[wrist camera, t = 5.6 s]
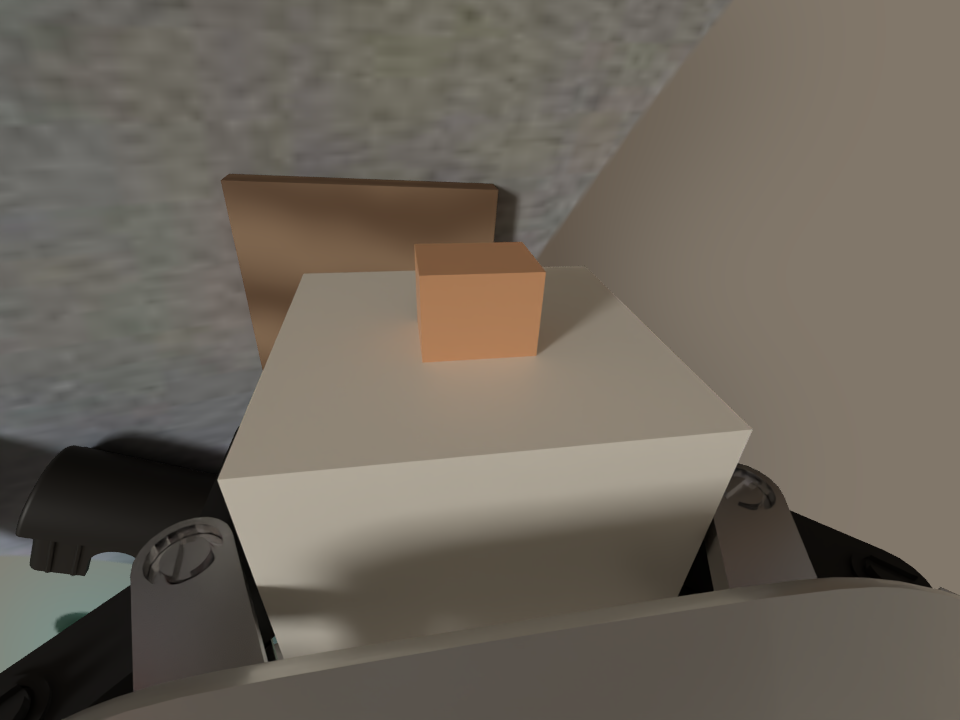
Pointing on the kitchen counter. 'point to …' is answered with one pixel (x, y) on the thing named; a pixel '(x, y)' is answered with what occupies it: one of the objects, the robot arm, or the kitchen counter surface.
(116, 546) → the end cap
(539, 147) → the kitchen counter surface
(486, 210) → the post block
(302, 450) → the cap
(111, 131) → the kitchen counter surface
